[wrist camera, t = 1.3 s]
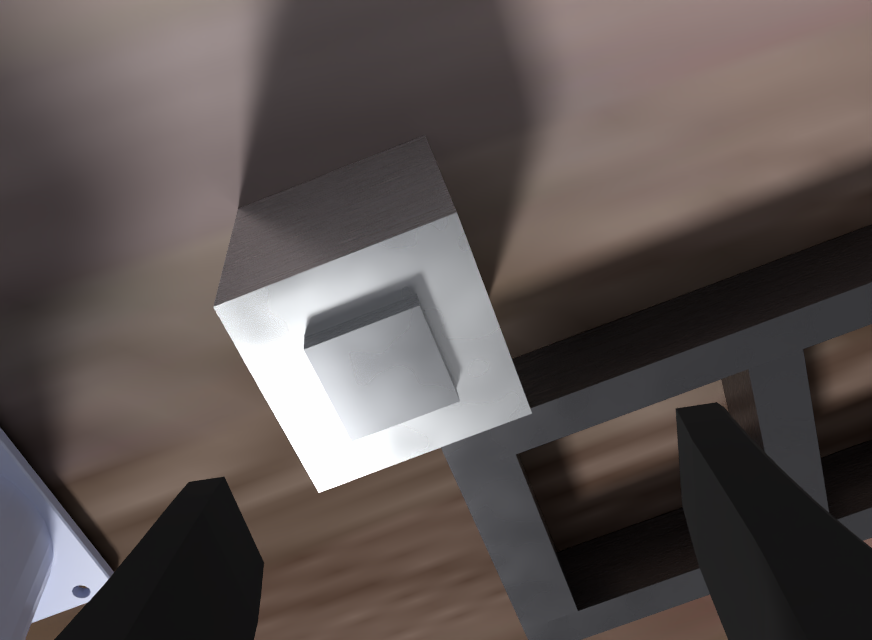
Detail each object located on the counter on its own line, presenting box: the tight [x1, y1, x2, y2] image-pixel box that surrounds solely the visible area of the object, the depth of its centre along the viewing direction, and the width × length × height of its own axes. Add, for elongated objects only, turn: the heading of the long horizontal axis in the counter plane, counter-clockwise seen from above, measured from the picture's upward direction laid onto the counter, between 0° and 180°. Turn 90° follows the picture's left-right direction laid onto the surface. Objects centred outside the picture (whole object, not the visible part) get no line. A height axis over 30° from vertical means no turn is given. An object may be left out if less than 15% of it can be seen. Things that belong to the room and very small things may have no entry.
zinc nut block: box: [213, 135, 532, 492], centre depth 19 cm, size 5×5×6 cm
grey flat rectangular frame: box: [441, 225, 872, 640], centre depth 24 cm, size 18×9×2 cm, turn 110°
